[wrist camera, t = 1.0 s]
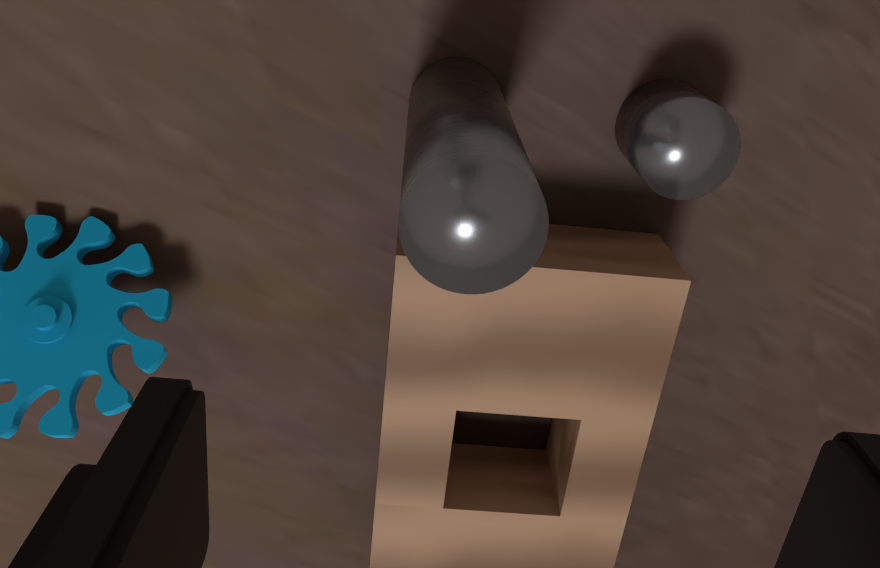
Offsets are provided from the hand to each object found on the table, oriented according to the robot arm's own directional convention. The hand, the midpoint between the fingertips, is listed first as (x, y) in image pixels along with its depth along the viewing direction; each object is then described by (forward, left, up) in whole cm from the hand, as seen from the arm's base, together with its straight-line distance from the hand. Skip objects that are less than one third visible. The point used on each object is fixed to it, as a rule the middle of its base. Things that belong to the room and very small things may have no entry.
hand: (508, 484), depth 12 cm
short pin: (0, +9, -24) cm, 26 cm away
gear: (+10, -17, -24) cm, 31 cm away
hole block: (+15, +4, -24) cm, 29 cm away
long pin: (0, 0, -24) cm, 24 cm away
